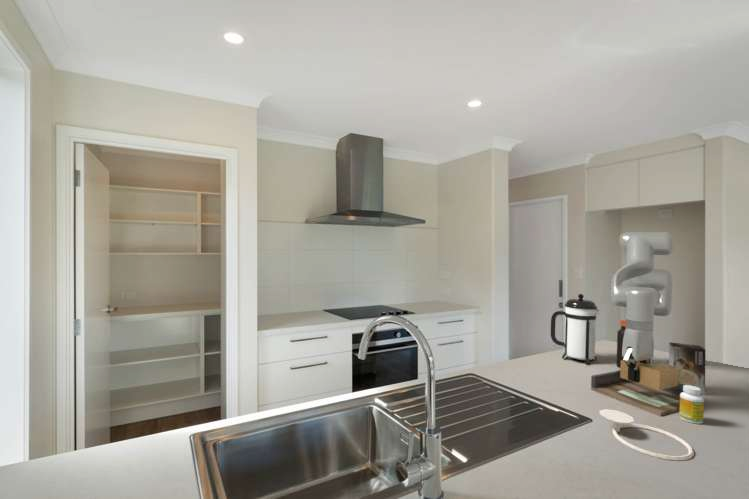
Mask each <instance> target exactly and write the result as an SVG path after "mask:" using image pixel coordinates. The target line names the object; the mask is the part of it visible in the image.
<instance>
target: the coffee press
mask: <svg viewBox="0 0 749 499" xmlns="http://www.w3.org/2000/svg"><path fill="white" fill-rule="evenodd" d="M577 297H578V298H570V299H568V300H566V301H565V303H564V308H565V311H563V310H559V311H555V312H554V313H552V315H551V319H550V337H551V340H552V342H553V343H554V344H555V345H558V346H561V347H563V348H564V353H563V354H562V356H561V359H563V360H565V361H567V360H568V359H569V358H571V359H574V360H575V359H576V360H581V361H584V364H585V365H589V366H590V364H591V360H592V361H597V357H596V354H595V353H596V328H597V327H596V326H597V325H596V322H597V321H596V320H597V315H601V312H600V310H599V309H598V306H597V305H596V303H595V302H594V301H592V300H589V299H584V298H585V297H584V294H583V293H579V294H578V295H577ZM558 316H564V319H565V321H564V342H563V341H560V340H558V339H557V338H556V319H557V317H558Z"/></svg>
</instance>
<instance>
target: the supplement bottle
mask: <svg viewBox="0 0 749 499" xmlns="http://www.w3.org/2000/svg"><path fill="white" fill-rule="evenodd" d="M683 391H684V392H682V393H681V394H680V410H679V411H678V412H679V413H678V414H679V418H680V419H681V420H683V421H684V422H688V423H691V424H697V425H699V424H700V425H701V424H703V423H704V410H705V405H704V404H705V399H704V397H703V396H702V394H701V389H700V388H698V387H695V386H691V385H684V386H683Z"/></svg>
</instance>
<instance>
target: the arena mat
mask: <svg viewBox="0 0 749 499" xmlns="http://www.w3.org/2000/svg"><path fill="white" fill-rule="evenodd" d="M590 387H591V386H590ZM590 390H591V391H594V392H597V393H599V394H601V395H605V396H606V397H609V398H611V399H614V400H616V401H620V402H623V403H625V404H628V405H630V406H633V407H636V408H638V409H640V410H643V411H645V412H649V413H650V414H652V415H653V414H654V415H656V416H659V417H662V416H666V415H668V414H672V413H675V412H679V411H680V396H678V395H675V394H672V393H669V392H666V391H662V390H657V389H654V388H651V387H648V386H645V385H642V384H639V383H636V382H632V381H625V382H621V383H616V384H611V385H606V386H602V387H597V388H593V387H591V388H590Z"/></svg>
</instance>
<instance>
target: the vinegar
mask: <svg viewBox="0 0 749 499" xmlns="http://www.w3.org/2000/svg"><path fill="white" fill-rule="evenodd" d="M619 321H620V323H619V326H620V329H618V330H617V333H616V334H617V335H616V336H617V338H616V367H618V368H619V369H620V368H621V360H623V359H624V358H623V357H622V346H623V338H624V333H625V329H626V320H624V319H620V320H619ZM632 359H633V360H634V358H632Z"/></svg>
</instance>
